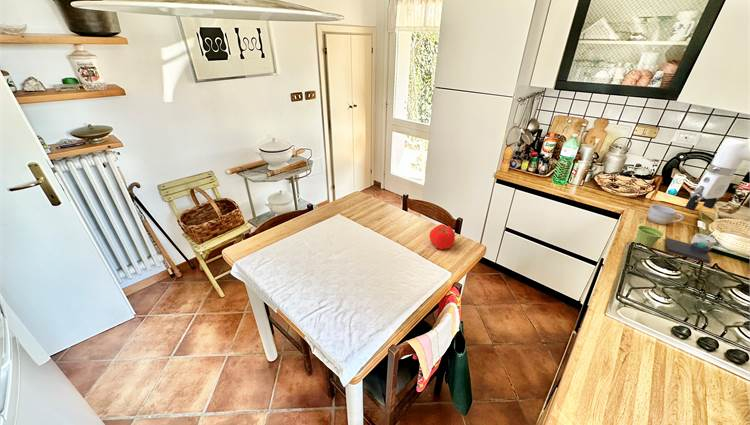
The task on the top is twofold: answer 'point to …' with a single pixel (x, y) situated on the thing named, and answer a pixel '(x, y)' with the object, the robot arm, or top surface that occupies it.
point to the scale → (687, 250)
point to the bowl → (703, 239)
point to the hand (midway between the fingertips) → (698, 208)
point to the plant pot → (648, 235)
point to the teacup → (662, 214)
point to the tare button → (702, 245)
